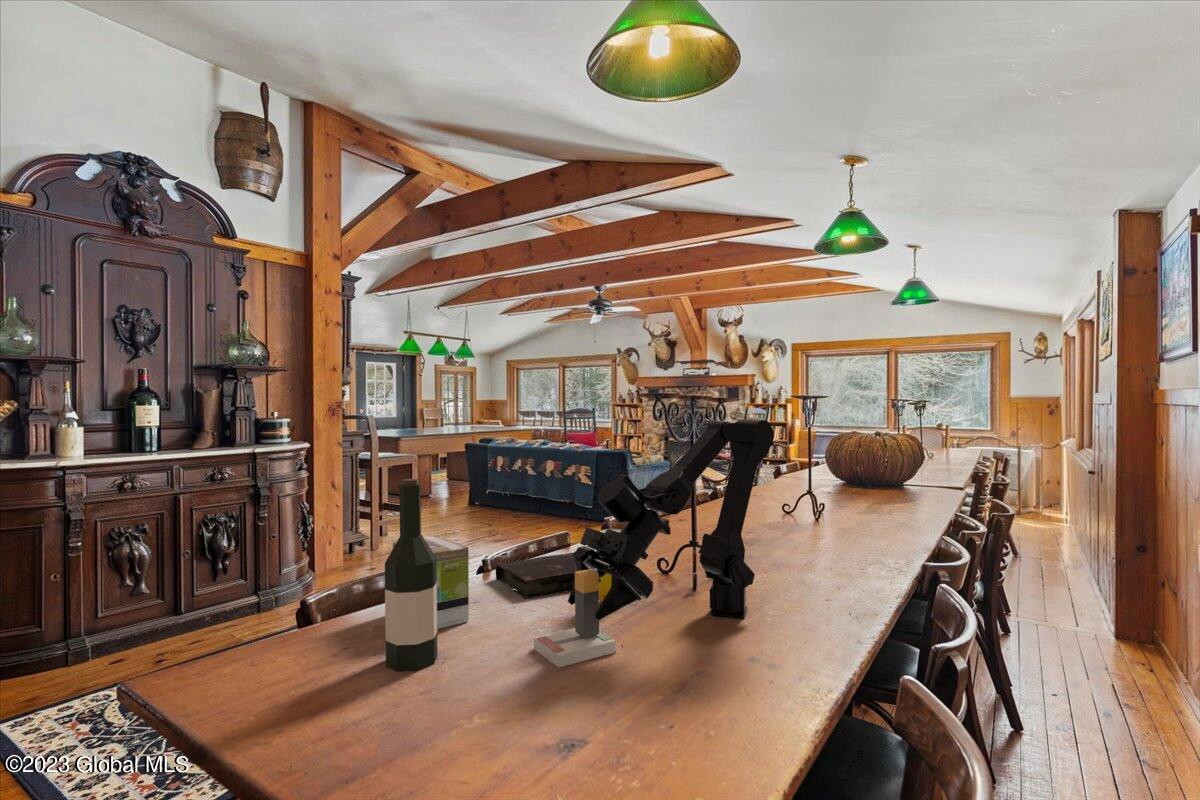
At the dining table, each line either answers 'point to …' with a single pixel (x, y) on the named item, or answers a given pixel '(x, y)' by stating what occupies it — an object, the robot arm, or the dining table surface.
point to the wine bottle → (410, 590)
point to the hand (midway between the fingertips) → (582, 610)
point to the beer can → (605, 578)
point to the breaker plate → (573, 647)
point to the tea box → (450, 581)
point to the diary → (539, 575)
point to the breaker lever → (586, 602)
